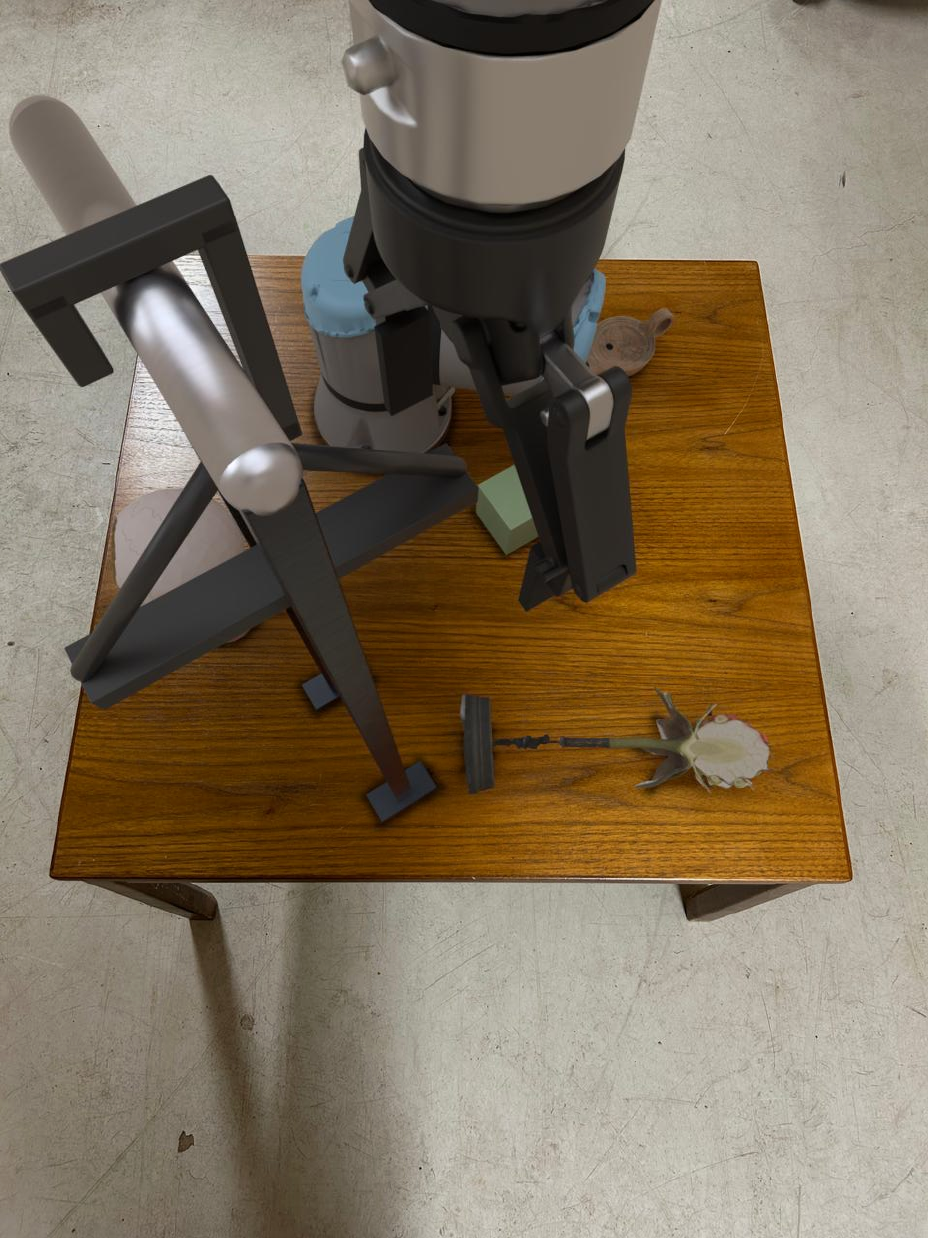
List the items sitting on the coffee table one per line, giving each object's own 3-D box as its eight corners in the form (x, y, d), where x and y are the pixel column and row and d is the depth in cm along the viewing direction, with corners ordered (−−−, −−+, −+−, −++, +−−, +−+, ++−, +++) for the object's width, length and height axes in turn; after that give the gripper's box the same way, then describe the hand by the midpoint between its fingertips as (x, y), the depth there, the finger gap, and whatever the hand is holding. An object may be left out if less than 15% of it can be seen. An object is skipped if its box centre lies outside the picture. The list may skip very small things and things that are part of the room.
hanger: (101, 712, 35) (-326, 481, 16) (74, 658, 36) (-363, 375, 16) (480, 500, 39) (514, 108, 20) (448, 456, 40) (451, 38, 20)
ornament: (742, 695, 77) (777, 671, 69) (756, 796, 74) (794, 784, 66) (460, 697, 77) (462, 673, 69) (461, 799, 74) (463, 787, 65)
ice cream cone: (158, 585, 80) (70, 489, 62) (260, 550, 82) (204, 446, 63) (186, 678, 77) (101, 608, 58) (291, 640, 79) (242, 560, 60)
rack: (303, 687, 77) (-98, 110, 20) (356, 656, 78) (114, 30, 22) (382, 823, 73) (153, 568, 16) (437, 788, 74) (400, 437, 17)
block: (475, 512, 84) (477, 484, 78) (536, 477, 85) (542, 448, 80) (506, 555, 82) (510, 530, 77) (567, 519, 84) (576, 492, 78)
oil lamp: (586, 404, 89) (593, 377, 84) (553, 356, 91) (559, 327, 86) (682, 362, 91) (694, 332, 86) (648, 315, 93) (658, 284, 88)
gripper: (181, -83, 24) (301, 357, 44) (654, 529, 18) (545, 724, 38) (388, -155, 26) (414, 303, 46) (900, 384, 19) (669, 646, 39)
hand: (473, 493), depth 42 cm, fingers open, 13 cm apart
